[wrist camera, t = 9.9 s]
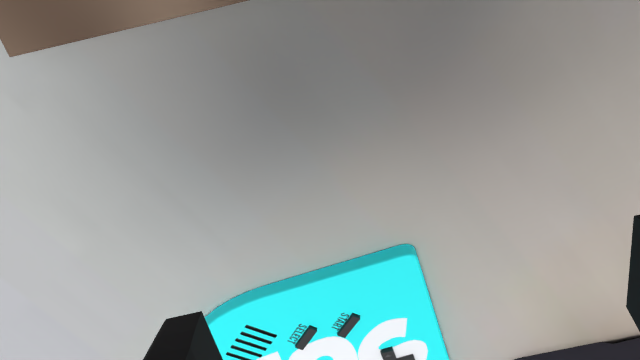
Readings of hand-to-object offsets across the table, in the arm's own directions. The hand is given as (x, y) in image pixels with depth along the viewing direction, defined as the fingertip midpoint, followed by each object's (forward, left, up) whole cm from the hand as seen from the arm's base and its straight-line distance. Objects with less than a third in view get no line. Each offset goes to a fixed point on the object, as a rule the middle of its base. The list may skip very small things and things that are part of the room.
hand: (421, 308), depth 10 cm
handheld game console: (+3, +16, -11) cm, 20 cm away
